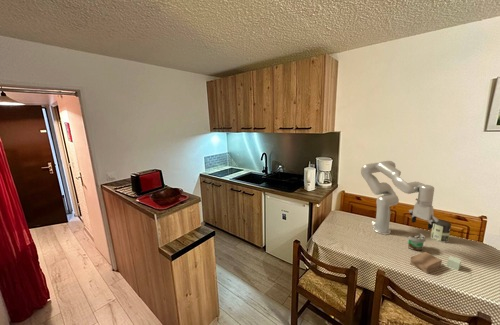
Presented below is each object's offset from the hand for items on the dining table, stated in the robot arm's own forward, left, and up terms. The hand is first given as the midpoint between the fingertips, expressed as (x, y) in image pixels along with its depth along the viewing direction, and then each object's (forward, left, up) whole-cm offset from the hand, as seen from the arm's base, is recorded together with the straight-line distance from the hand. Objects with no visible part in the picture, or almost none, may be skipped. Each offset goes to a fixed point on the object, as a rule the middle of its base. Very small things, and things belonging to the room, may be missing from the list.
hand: (421, 225), depth 135 cm
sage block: (+19, +2, -19) cm, 27 cm away
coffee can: (-2, +29, -20) cm, 35 cm away
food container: (0, 0, -20) cm, 20 cm away
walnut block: (+12, -13, -19) cm, 26 cm away
